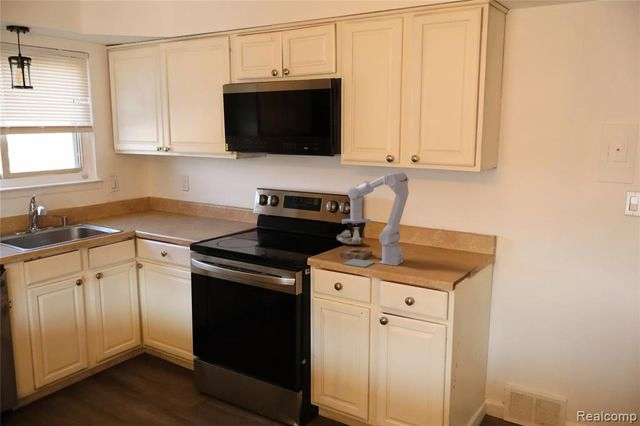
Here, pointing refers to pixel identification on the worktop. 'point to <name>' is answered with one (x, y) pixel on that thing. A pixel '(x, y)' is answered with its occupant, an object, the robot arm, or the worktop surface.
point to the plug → (355, 235)
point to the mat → (359, 263)
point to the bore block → (356, 253)
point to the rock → (346, 238)
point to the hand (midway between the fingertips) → (356, 237)
